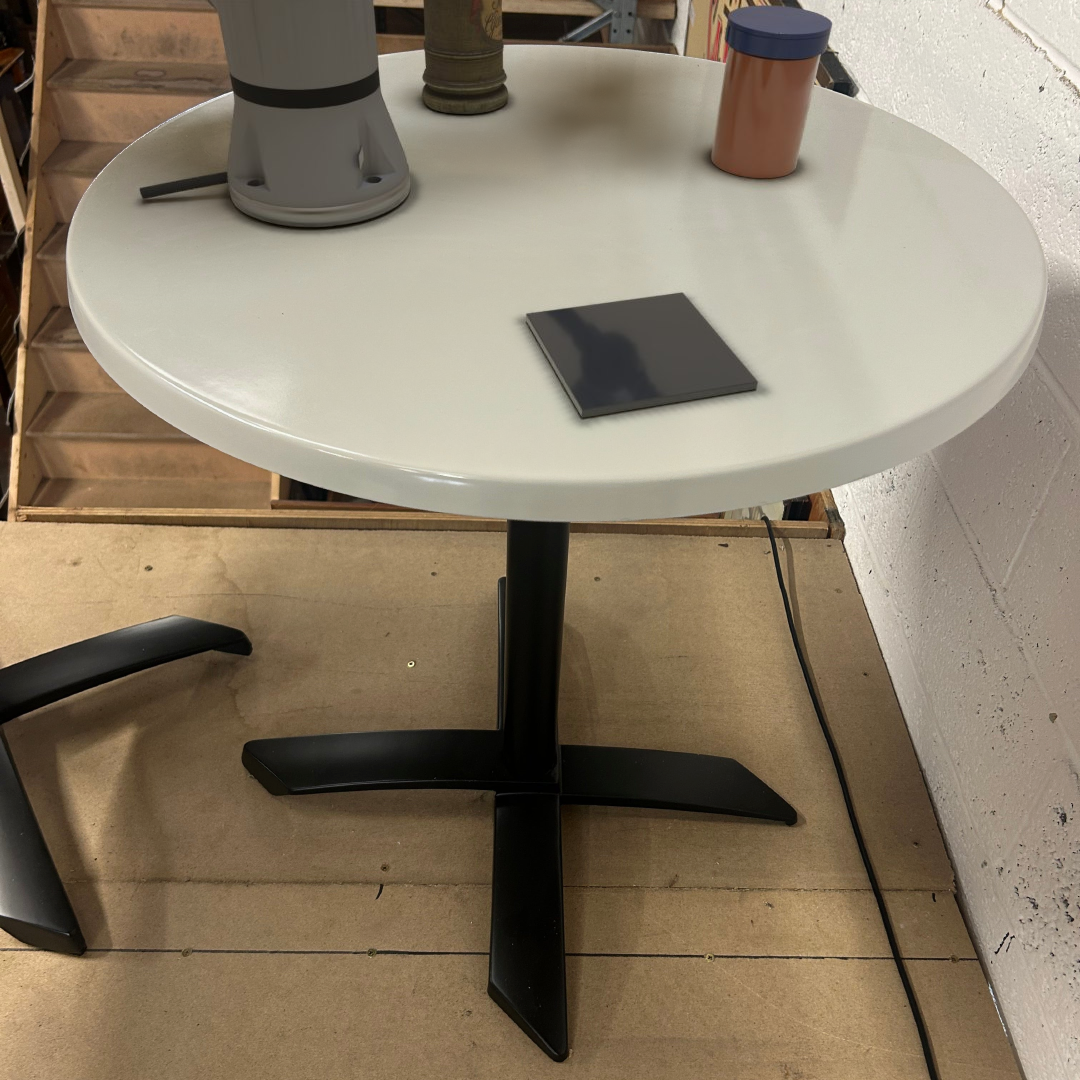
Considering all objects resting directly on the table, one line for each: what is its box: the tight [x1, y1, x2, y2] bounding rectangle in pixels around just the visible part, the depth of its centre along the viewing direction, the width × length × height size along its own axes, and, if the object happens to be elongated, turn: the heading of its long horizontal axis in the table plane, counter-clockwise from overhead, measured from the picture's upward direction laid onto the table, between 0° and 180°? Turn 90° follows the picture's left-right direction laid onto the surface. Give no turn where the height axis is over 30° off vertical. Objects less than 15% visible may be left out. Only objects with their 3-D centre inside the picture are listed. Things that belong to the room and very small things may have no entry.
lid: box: [724, 4, 833, 59], centre depth 79 cm, size 9×9×2 cm
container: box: [421, 0, 509, 115], centre depth 90 cm, size 9×9×18 cm
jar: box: [710, 44, 822, 179], centre depth 83 cm, size 8×8×12 cm
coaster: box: [525, 291, 759, 419], centre depth 62 cm, size 12×12×1 cm
